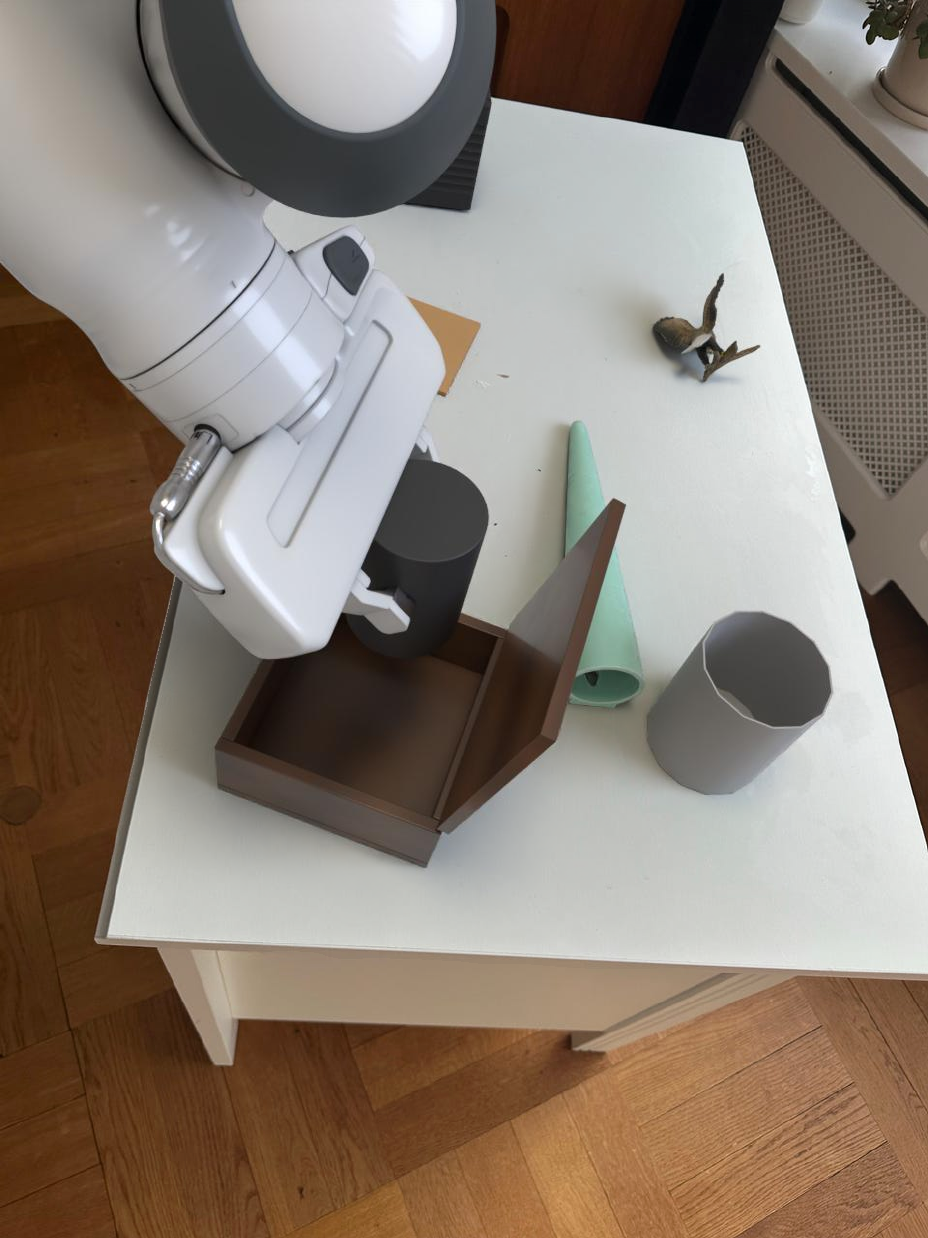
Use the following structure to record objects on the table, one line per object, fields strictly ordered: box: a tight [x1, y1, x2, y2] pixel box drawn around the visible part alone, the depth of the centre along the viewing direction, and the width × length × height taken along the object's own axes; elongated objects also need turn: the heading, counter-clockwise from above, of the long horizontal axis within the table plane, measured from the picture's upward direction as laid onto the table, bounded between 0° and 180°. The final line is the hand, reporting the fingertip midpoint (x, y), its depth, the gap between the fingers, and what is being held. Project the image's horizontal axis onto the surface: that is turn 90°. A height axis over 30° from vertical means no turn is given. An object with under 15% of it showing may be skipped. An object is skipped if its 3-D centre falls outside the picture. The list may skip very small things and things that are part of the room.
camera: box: [405, 80, 493, 211], centre depth 89 cm, size 11×14×15 cm
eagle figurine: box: [653, 272, 761, 383], centre depth 86 cm, size 8×7×9 cm
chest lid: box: [437, 497, 627, 835], centre depth 50 cm, size 14×15×1 cm
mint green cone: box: [564, 420, 646, 709], centre depth 70 cm, size 5×6×27 cm
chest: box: [213, 612, 508, 869], centre depth 59 cm, size 14×15×6 cm
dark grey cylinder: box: [345, 459, 490, 659], centre depth 49 cm, size 6×6×9 cm
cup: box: [646, 610, 834, 796], centre depth 61 cm, size 8×8×10 cm
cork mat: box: [406, 295, 482, 397], centre depth 82 cm, size 10×10×1 cm
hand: (424, 562), depth 49 cm, fingers closed on dark grey cylinder, 6 cm apart
